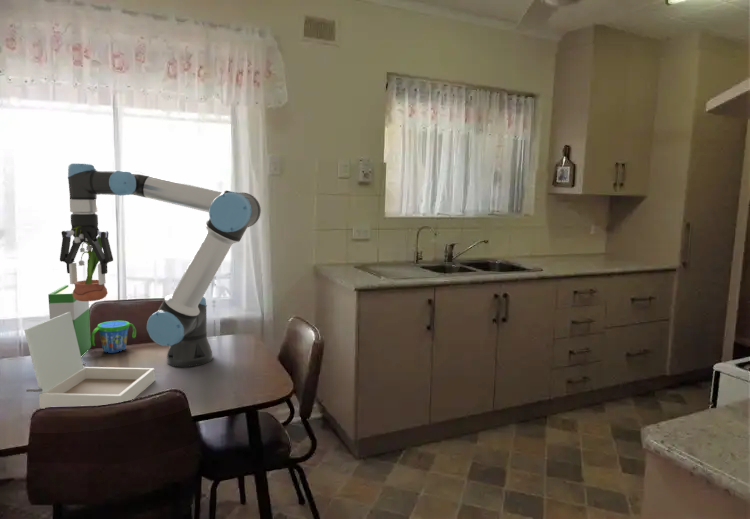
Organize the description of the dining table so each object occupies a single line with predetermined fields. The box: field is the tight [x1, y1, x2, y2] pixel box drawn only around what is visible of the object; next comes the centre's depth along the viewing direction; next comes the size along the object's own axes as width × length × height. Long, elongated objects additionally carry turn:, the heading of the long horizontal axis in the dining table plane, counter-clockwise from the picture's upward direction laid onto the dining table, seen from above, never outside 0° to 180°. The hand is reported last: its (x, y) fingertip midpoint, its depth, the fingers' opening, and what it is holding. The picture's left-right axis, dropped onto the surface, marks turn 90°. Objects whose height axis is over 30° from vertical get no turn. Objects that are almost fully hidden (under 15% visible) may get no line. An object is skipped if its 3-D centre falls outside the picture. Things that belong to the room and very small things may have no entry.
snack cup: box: [90, 320, 137, 354], centre depth 190 cm, size 16×10×10 cm
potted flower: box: [69, 226, 109, 302], centre depth 165 cm, size 12×10×25 cm
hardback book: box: [48, 284, 92, 357], centre depth 183 cm, size 18×7×24 cm, turn 15°
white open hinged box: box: [23, 312, 156, 409], centre depth 150 cm, size 26×22×22 cm
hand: (88, 283), depth 166 cm, fingers closed on potted flower, 8 cm apart
